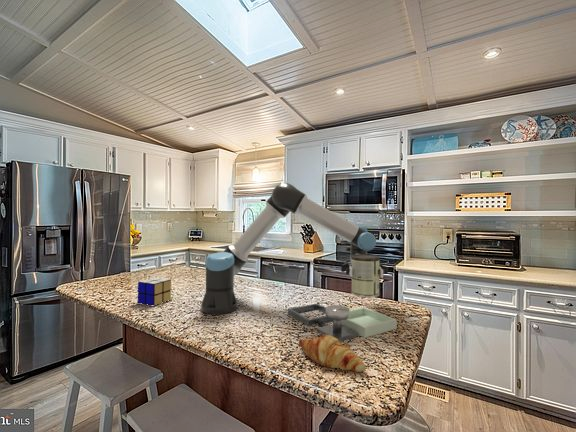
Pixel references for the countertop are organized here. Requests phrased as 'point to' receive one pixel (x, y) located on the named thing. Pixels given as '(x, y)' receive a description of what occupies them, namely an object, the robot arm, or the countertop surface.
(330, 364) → the croissant
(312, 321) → the socket
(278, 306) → the countertop surface
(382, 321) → the tray
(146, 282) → the puzzle cube
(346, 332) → the door knob
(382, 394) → the countertop surface
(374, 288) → the coffee can
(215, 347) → the countertop surface
